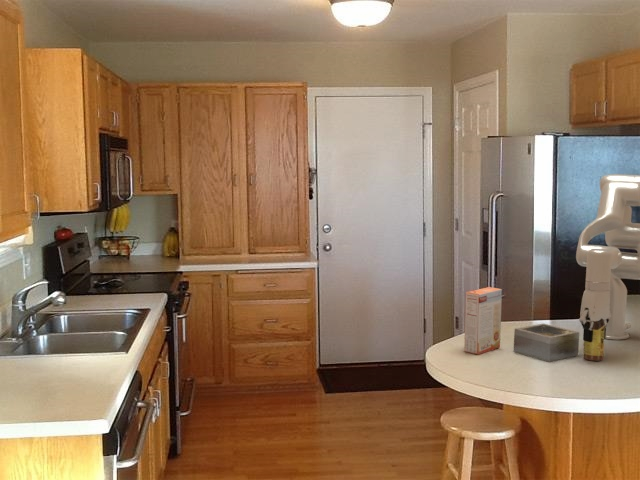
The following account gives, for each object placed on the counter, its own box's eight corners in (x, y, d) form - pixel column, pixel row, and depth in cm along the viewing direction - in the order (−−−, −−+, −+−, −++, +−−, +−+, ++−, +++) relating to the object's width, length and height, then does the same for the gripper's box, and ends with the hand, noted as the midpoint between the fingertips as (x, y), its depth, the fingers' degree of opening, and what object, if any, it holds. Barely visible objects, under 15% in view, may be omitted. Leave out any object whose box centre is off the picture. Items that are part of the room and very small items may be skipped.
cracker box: (485, 344, 277) (488, 286, 274) (500, 348, 272) (503, 288, 270) (462, 351, 267) (465, 291, 264) (477, 355, 263) (480, 293, 260)
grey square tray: (546, 344, 278) (547, 322, 277) (582, 354, 266) (583, 331, 265) (513, 351, 268) (514, 328, 267) (549, 362, 256) (550, 338, 255)
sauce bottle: (604, 362, 257) (607, 302, 254) (584, 361, 258) (587, 301, 255) (601, 356, 263) (604, 298, 260) (581, 355, 264) (585, 297, 262)
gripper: (603, 282, 265) (600, 334, 268) (571, 287, 255) (568, 341, 258) (623, 285, 259) (619, 338, 262) (591, 290, 249) (587, 346, 252)
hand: (594, 339), depth 260 cm, fingers closed on sauce bottle, 6 cm apart
